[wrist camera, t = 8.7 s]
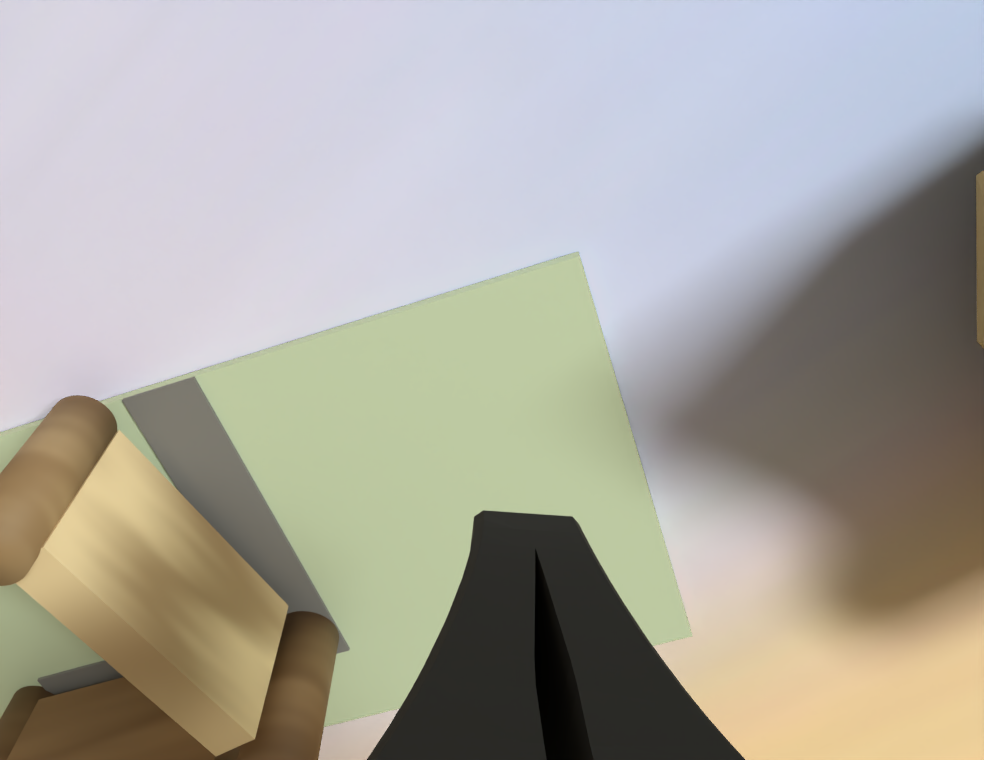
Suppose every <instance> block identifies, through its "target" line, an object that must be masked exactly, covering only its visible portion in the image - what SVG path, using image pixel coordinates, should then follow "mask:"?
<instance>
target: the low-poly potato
mask: <svg viewBox="0 0 984 760" xmlns="http://www.w3.org/2000/svg"><path fill="white" fill-rule="evenodd" d="M976 259H977V342H978V343H979V344H980V345H981V346H982V347H983V348H984V170H983V171H982V172H980V173H979V174H977V175H976Z"/></svg>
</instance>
